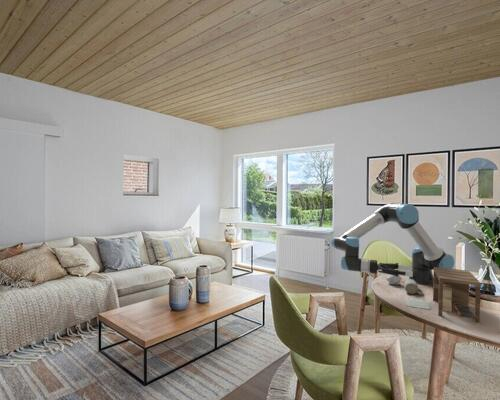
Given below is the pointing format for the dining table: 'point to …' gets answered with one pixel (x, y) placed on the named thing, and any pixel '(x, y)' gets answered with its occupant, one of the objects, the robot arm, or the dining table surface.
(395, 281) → the grey rock
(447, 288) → the maple block
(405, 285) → the ceramic mug
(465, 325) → the dining table surface
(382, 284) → the dining table surface
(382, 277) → the dining table surface
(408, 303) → the pad
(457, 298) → the small wooden table
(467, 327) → the dining table surface
